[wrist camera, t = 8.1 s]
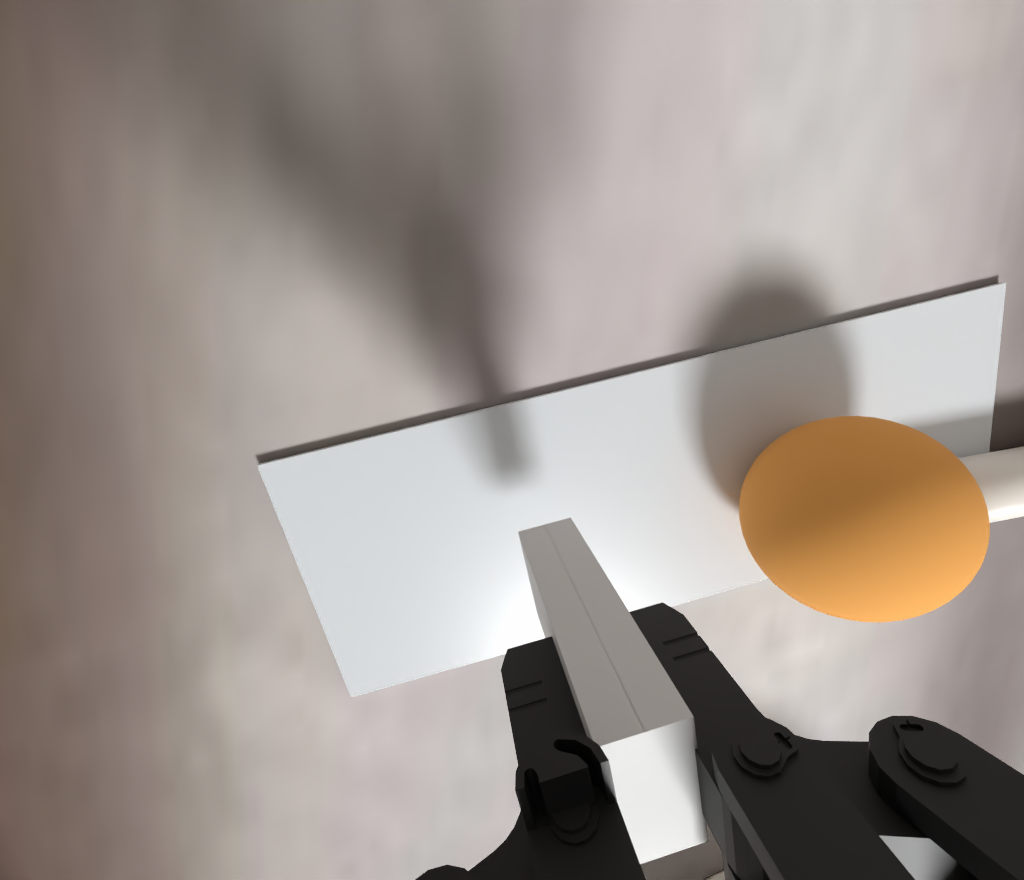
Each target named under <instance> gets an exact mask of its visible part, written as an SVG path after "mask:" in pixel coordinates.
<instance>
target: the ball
mask: <svg viewBox="0 0 1024 880" xmlns="http://www.w3.org/2000/svg"><path fill="white" fill-rule="evenodd" d="M739 519H740V525H741V530H742V534H743V537H744V540H745V542H746V545H747V547H748V550H749V551H750V553H751V555H752V557H753V558H754V560H755V562H756V563H757V564H758V566H759V567H760V568H761V570H762V571H763V572H764V574H765V575H766V576H767V577H768V578H769V579H770V580H771V581H772V582H773V583H774V584H775V585H777V586H778V587H779V588H780V589H782V590H783V591H784V592H785V593H786V594H788V595H789V596H791V597H792V598H794V599H795V600H797V601H799V602H800V603H802V604H804V605H806V606H808V607H810V608H812V609H814V610H817V611H819V612H822V613H825V614H828V615H831V616H835V617H839V618H843V619H848V620H854V621H862V622H890V621H899V620H904V619H908V618H913V617H917V616H920V615H922V614H925V613H927V612H930V611H933V610H935V609H937V608H938V607H940V606H942V605H944V604H946V603H947V602H949V601H950V600H952V599H953V598H954V597H955V596H957V595H958V594H959V593H961V592H962V591H963V589H964V588H965V587H966V586H967V585H968V584H969V583H970V582H971V581H972V580H973V578H974V576H975V575H976V573H977V572H978V570H979V569H980V567H981V565H982V562H983V560H984V557H985V555H986V551H987V547H988V543H989V532H990V522H989V515H988V509H987V505H986V502H985V499H984V496H983V493H982V491H981V489H980V488H979V486H978V484H977V482H976V480H975V478H974V477H973V476H972V474H971V473H970V472H969V470H968V469H967V468H966V466H965V465H964V464H963V463H962V462H961V461H960V460H959V459H958V458H957V457H956V456H955V455H954V454H953V453H952V452H951V451H950V450H949V449H947V448H946V447H945V446H943V445H942V444H941V443H940V442H938V441H936V440H935V439H933V438H931V437H930V436H928V435H926V434H925V433H922V432H920V431H918V430H916V429H913V428H911V427H909V426H906V425H903V424H899V423H896V422H893V421H890V420H885V419H880V418H875V417H865V416H840V417H833V418H826V419H821V420H817V421H813V422H809V423H807V424H804V425H802V426H799V427H797V428H795V429H792V430H791V431H789V432H787V433H785V434H783V435H782V436H780V437H779V438H778V439H776V440H775V441H774V442H772V443H771V444H770V445H769V446H768V447H767V448H766V449H765V450H764V451H763V452H762V453H761V454H760V455H759V456H758V457H757V458H756V460H755V461H754V463H753V464H752V466H751V468H750V469H749V471H748V473H747V475H746V477H745V480H744V483H743V486H742V489H741V494H740V500H739Z"/></svg>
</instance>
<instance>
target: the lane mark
mask: <svg viewBox="0 0 1024 880" xmlns="http://www.w3.org/2000/svg"><path fill="white" fill-rule="evenodd" d="M1005 290H1006V283H997V284H993V285H989V286H985V287H980V288H976V289H972V290H968V291H964V292H960V293H956V294H952V295H948V296H944V297H940V298H935V299H931V300H927V301H923V302H919V303H915V304H911V305H907V306H903V307H899V308H894V309H890V310H886V311H882V312H878V313H874V314H870V315H866V316H862V317H858V318H853V319H849V320H845V321H841V322H837V323H833V324H829V325H825V326H821V327H817V328H812V329H808V330H804V331H800V332H796V333H792V334H788V335H784V336H780V337H776V338H771V339H767V340H763V341H759V342H755V343H751V344H747V345H743V346H739V347H735V348H730V349H726V350H722V351H718V352H714V353H710V354H706V355H702V356H698V357H694V358H690V359H685V360H681V361H677V362H673V363H669V364H665V365H661V366H657V367H653V368H649V369H644V370H640V371H636V372H632V373H628V374H624V375H620V376H616V377H612V378H608V379H603V380H599V381H595V382H591V383H587V384H583V385H579V386H575V387H571V388H567V389H562V390H558V391H554V392H550V393H546V394H542V395H538V396H534V397H530V398H526V399H521V400H517V401H513V402H509V403H505V404H501V405H497V406H493V407H489V408H485V409H481V410H476V411H472V412H468V413H464V414H460V415H456V416H452V417H448V418H444V419H440V420H435V421H431V422H427V423H423V424H419V425H415V426H411V427H407V428H403V429H399V430H394V431H390V432H386V433H382V434H378V435H374V436H370V437H366V438H362V439H358V440H353V441H349V442H345V443H341V444H337V445H333V446H329V447H325V448H321V449H317V450H312V451H308V452H304V453H300V454H296V455H292V456H288V457H284V458H280V459H276V460H272V461H267V462H263V463H259V464H258V465H257V467H258V469H259V472H260V474H261V477H262V479H263V482H264V484H265V487H266V489H267V491H268V494H269V496H270V499H271V501H272V504H273V506H274V509H275V511H276V514H277V516H278V519H279V521H280V524H281V526H282V528H283V531H284V533H285V536H286V538H287V541H288V543H289V546H290V548H291V551H292V553H293V556H294V558H295V561H296V563H297V565H298V568H299V570H300V573H301V575H302V578H303V580H304V583H305V585H306V588H307V590H308V593H309V595H310V598H311V600H312V602H313V605H314V607H315V610H316V612H317V615H318V617H319V620H320V622H321V625H322V627H323V630H324V632H325V634H326V637H327V639H328V642H329V644H330V647H331V649H332V652H333V654H334V657H335V659H336V662H337V664H338V667H339V669H340V671H341V674H342V676H343V679H344V681H345V684H346V686H347V689H348V691H349V694H350V696H351V698H352V697H355V696H359V695H362V694H366V693H369V692H373V691H376V690H380V689H383V688H387V687H390V686H394V685H397V684H401V683H404V682H408V681H411V680H415V679H418V678H422V677H425V676H429V675H433V674H436V673H440V672H443V671H447V670H450V669H454V668H457V667H461V666H464V665H468V664H471V663H475V662H478V661H482V660H485V659H489V658H492V657H496V656H499V655H503V654H506V652H507V649H510V648H513V647H516V646H520V645H523V644H527V643H530V642H534V641H537V640H540V639H544V638H545V636H544V633H543V630H542V627H541V624H540V620H539V617H538V614H537V611H536V606H535V602H534V598H533V594H532V589H531V585H530V581H529V576H528V572H527V568H526V564H525V559H524V555H523V551H522V547H521V542H520V538H519V534H518V532H519V531H522V530H526V529H530V528H533V527H537V526H541V525H544V524H548V523H552V522H555V521H559V520H563V519H567V518H570V517H571V519H572V520H573V522H574V524H575V525H576V527H577V528H578V530H579V532H580V533H581V535H582V536H583V538H584V540H585V541H586V543H587V545H588V546H589V548H590V549H591V551H592V553H593V554H594V556H595V558H596V559H597V561H598V562H599V564H600V566H601V567H602V569H603V571H604V572H605V574H606V575H607V577H608V579H609V580H610V582H611V583H612V585H613V587H614V588H615V590H616V592H617V593H618V595H619V596H620V598H621V600H622V601H623V603H624V605H625V606H626V608H627V609H628V611H629V612H631V611H634V610H638V609H641V608H645V607H648V606H651V605H655V604H658V603H662V602H663V603H665V604H666V605H668V606H670V607H672V606H676V605H679V604H683V603H686V602H690V601H693V600H697V599H700V598H704V597H707V596H711V595H714V594H718V593H721V592H725V591H728V590H732V589H735V588H739V587H743V586H746V585H750V584H753V583H757V582H760V581H764V580H767V579H769V578H768V577H767V576H766V575H765V574H764V572H763V571H762V570H761V568H760V567H759V566H758V564H757V563H756V562H755V560H754V558H753V557H752V555H751V553H750V551H749V550H748V547H747V545H746V542H745V540H744V537H743V534H742V530H741V525H740V519H739V500H740V494H741V489H742V486H743V483H744V480H745V477H746V475H747V473H748V471H749V469H750V468H751V466H752V464H753V463H754V461H755V460H756V458H757V457H758V456H759V455H760V454H761V453H762V452H763V451H764V450H765V449H766V448H767V447H768V446H769V445H770V444H771V443H772V442H774V441H775V440H776V439H778V438H779V437H780V436H782V435H783V434H785V433H787V432H789V431H791V430H792V429H795V428H797V427H799V426H802V425H804V424H807V423H809V422H813V421H817V420H821V419H826V418H833V417H840V416H865V417H875V418H880V419H885V420H890V421H893V422H896V423H899V424H903V425H906V426H909V427H911V428H913V429H916V430H918V431H920V432H922V433H925V434H926V435H928V436H930V437H931V438H933V439H935V440H936V441H938V442H940V443H941V444H942V445H943V446H945V447H946V448H947V449H949V450H950V451H951V452H952V453H953V454H954V455H955V456H956V457H957V458H961V457H966V456H972V455H978V454H983V453H989V449H990V439H991V429H992V419H993V409H994V399H995V389H996V380H997V370H998V360H999V350H1000V340H1001V330H1002V320H1003V310H1004V300H1005Z"/></svg>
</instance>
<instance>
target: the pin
mask: <svg viewBox="0 0 1024 880" xmlns="http://www.w3.org/2000/svg"><path fill="white" fill-rule="evenodd" d="M958 459H959V460H960V461H961V462H962V463H963V464H964V465H965V466H966V468H967V469H968V470H969V472H970V473H971V474H972V476H973V477H974V478H975V480H976V482H977V484H978V486H979V488H980V489H981V491H982V493H983V496H984V499H985V502H986V505H987V509H988V515H989V522H990V523H991V522H996V521H1001V520H1006V519H1012V518H1017V517H1022V516H1024V446H1023V447H1017V448H1012V449H1006V450H1000V451H995V452H989V453H983V454H978V455H972V456H966V457H961V458H958Z"/></svg>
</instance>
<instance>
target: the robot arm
mask: <svg viewBox="0 0 1024 880" xmlns="http://www.w3.org/2000/svg"><path fill="white" fill-rule="evenodd" d="M518 534H519V538H520V542H521V547H522V551H523V555H524V559H525V564H526V568H527V572H528V576H529V581H530V585H531V589H532V594H533V598H534V602H535V606H536V611H537V614H538V617H539V620H540V624H541V627H542V630H543V633H544V636H545V638H544V639H540V640H537V641H534V642H530V643H527V644H523V645H520V646H516V647H513V648H510V649H507V652H506V655H505V658H504V662H503V665H502V669H501V672H502V678H503V683H504V689H505V694H506V700H507V705H508V710H509V716H510V722H511V727H512V733H513V738H514V744H515V749H516V755H517V760H518V768H517V770H516V786H515V791H516V794H517V798H518V801H519V804H520V808H521V812H520V815H519V817H518V820H517V822H516V825H515V827H514V829H513V830H512V831H511V833H510V834H509V836H508V837H507V839H506V840H505V841H504V842H503V843H502V844H501V845H500V846H499V847H498V848H497V849H496V850H495V851H494V852H493V853H491V854H490V855H489V856H488V857H486V858H485V859H484V860H482V861H481V862H480V863H478V864H477V865H476V866H475V867H473V868H472V869H471V870H469V871H467V870H466V869H464V868H460V867H455V866H450V865H445V866H441V867H437V868H434V869H430V870H428V871H426V872H425V873H424V874H422V875H421V876H420V877H418V878H417V879H416V880H646V879H645V877H644V874H643V871H642V868H641V866H640V864H643V863H646V862H649V861H652V860H655V859H658V858H661V857H663V856H666V855H669V854H672V853H675V852H678V851H681V850H684V849H687V848H690V847H693V846H696V845H699V844H702V843H705V842H708V834H707V825H706V822H707V823H708V825H709V827H710V829H711V831H712V833H713V835H714V837H715V839H716V841H717V843H718V845H719V847H720V849H721V850H722V855H723V865H724V874H725V880H1024V775H1023V774H1021V773H1020V772H1018V771H1017V770H1015V769H1013V768H1012V767H1010V766H1009V765H1007V764H1006V763H1004V762H1002V761H1001V760H999V759H998V758H996V757H995V756H993V755H991V754H990V753H988V752H987V751H985V750H984V749H982V748H980V747H979V746H977V745H976V744H974V743H972V742H971V741H969V740H968V739H966V738H965V737H963V736H961V735H960V734H958V733H956V732H954V731H952V730H950V729H948V728H946V727H944V726H942V725H940V724H938V723H936V722H933V721H929V720H925V719H921V718H918V717H914V716H891V717H888V718H886V719H883V720H880V721H878V722H877V723H876V724H875V725H874V727H873V728H872V730H871V731H870V732H869V742H850V741H820V740H811V739H806V738H803V737H800V736H796V735H794V734H793V733H792V732H791V731H790V730H789V729H787V728H786V727H784V726H782V725H780V724H778V723H776V722H774V721H772V720H770V719H767V718H765V717H764V716H763V715H762V714H761V713H760V712H759V711H758V710H757V709H756V707H755V706H754V705H753V703H752V702H751V701H750V700H749V698H748V697H747V696H746V694H745V693H744V692H743V691H742V689H741V688H740V687H739V686H738V684H737V683H736V682H735V680H734V679H733V678H732V677H731V675H730V674H729V673H728V671H727V670H726V669H725V668H724V666H723V665H722V664H721V662H720V661H719V660H718V659H717V657H716V656H715V655H714V653H713V652H712V651H710V650H709V647H708V646H707V645H706V643H705V642H704V641H703V639H702V638H701V637H700V636H698V634H697V632H696V630H695V629H694V628H693V627H692V625H691V624H690V623H689V621H688V620H687V619H686V618H685V616H684V615H683V614H681V613H680V612H678V611H676V610H675V609H673V608H671V607H670V606H668V605H666V604H665V603H663V602H662V603H658V604H655V605H651V606H648V607H645V608H641V609H638V610H634V611H631V612H629V611H628V609H627V608H626V606H625V605H624V603H623V601H622V600H621V598H620V596H619V595H618V593H617V592H616V590H615V588H614V587H613V585H612V583H611V582H610V580H609V579H608V577H607V575H606V574H605V572H604V571H603V569H602V567H601V566H600V564H599V562H598V561H597V559H596V558H595V556H594V554H593V553H592V551H591V549H590V548H589V546H588V545H587V543H586V541H585V540H584V538H583V536H582V535H581V533H580V532H579V530H578V528H577V527H576V525H575V524H574V522H573V520H572V519H571V517H570V518H567V519H563V520H559V521H555V522H552V523H548V524H544V525H541V526H537V527H533V528H530V529H526V530H522V531H519V532H518Z"/></svg>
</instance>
